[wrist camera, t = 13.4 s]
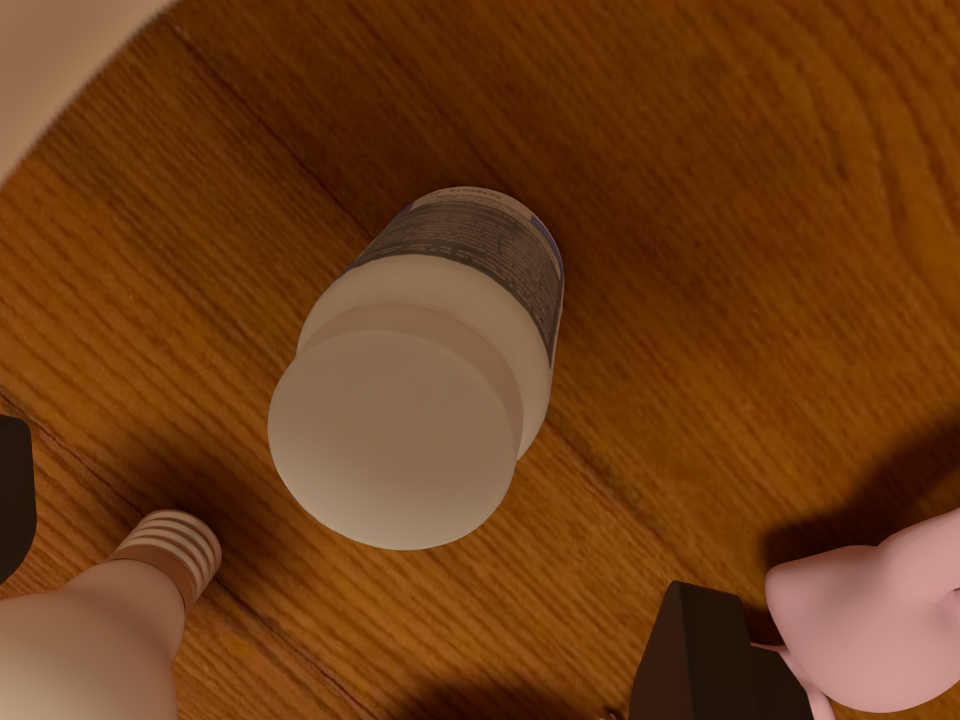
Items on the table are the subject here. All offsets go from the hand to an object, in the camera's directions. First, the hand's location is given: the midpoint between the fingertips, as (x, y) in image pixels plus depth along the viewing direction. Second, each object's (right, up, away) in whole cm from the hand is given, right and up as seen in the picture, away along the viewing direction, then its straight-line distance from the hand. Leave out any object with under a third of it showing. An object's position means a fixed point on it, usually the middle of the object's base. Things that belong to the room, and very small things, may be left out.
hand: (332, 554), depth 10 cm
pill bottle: (+2, +4, +10) cm, 11 cm away
